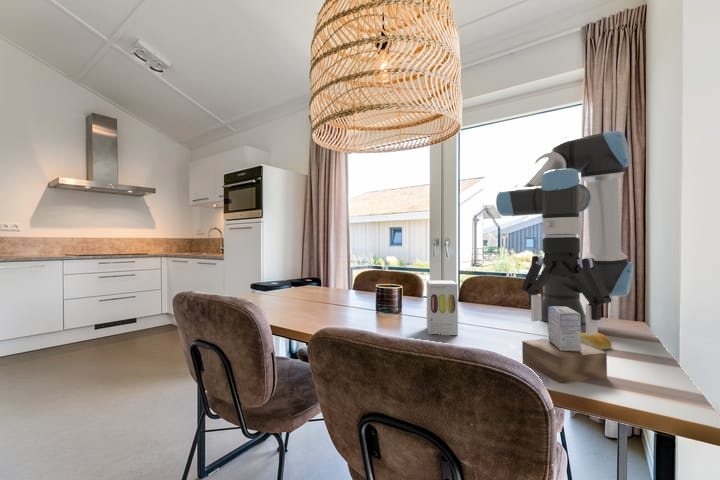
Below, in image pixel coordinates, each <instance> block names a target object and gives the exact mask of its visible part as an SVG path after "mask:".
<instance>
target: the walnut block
mask: <svg viewBox="0 0 720 480" xmlns="http://www.w3.org/2000/svg"><path fill="white" fill-rule="evenodd" d="M521 343H522V344H521V345H522V346H521V347H522V349H521V350H522V354H521V355H522V364H523V363H524V364H525V366H526V365H527V367H528V366H529V367H528V368H529V369H532V370H533V371H535V372H538V373H540V374H541V375H543V376H545V377H547V378H549V379H551V380H552V381H555V382H556V383H558V384H560V385H564V384H572V383H580V382H587V381H593V380H602V379H608V362H607V361H608V355H607V352H606V351H604V350H598V349H596V348H593V347H590V346H587V345H584V344H582V343H581V351H580V352H576V351H561V350H560V349H558V348H557V347H556V346H555V345H554V344H553V343H552V342H550V341H549V337H548V338H540V339H530V340H522V342H521ZM524 364H523V365H524Z"/></svg>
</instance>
